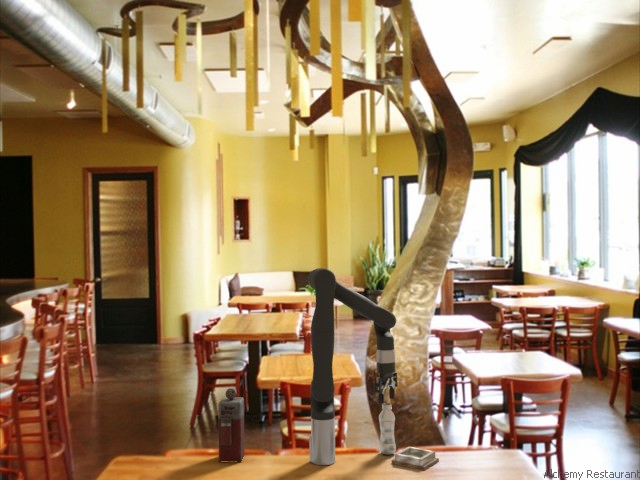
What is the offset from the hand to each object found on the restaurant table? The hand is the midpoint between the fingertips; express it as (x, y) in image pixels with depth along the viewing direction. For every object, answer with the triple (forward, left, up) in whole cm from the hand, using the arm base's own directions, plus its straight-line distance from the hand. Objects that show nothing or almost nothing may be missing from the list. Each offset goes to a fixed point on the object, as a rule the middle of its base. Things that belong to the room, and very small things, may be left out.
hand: (386, 400), depth 255 cm
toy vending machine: (-48, -40, -22) cm, 66 cm away
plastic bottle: (0, 0, -22) cm, 22 cm away
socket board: (+14, -3, -21) cm, 26 cm away
